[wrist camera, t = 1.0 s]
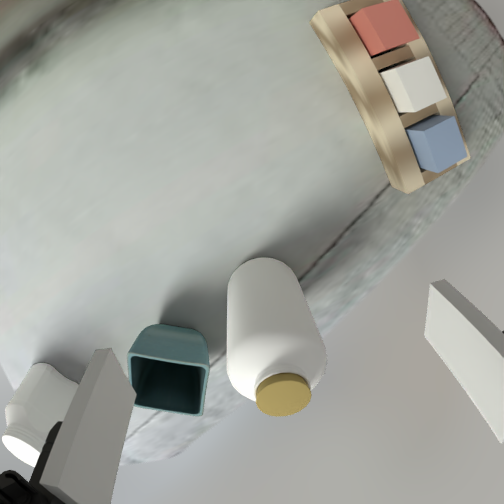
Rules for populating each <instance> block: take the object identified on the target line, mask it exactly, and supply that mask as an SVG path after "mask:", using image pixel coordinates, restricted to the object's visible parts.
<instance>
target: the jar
mask: <svg viewBox="0 0 504 504" xmlns="http://www.w3.org/2000/svg"><path fill="white" fill-rule="evenodd" d="M78 386H79V384H77V383H76V382H73V381H71V380H69V379H68V378H66V377H64V376H63V375H62V374H60V373H59V372H58V371H57V370H56V369H55V368H54V367H52V366H51V365H50V364H47V363H37V364H34V365H33V366H31V368H30V369H29V371H28V372H27V375H26V376H25V378H24V380H23V381H22V383H21V384H20V386H19V388H18V389H17V391H16V393H15V394H14V396H13V397H12V399H11V401H10V402H9V403H8V405H7V406H6V409H5V415H6V421H7V429H6V431H5V432H4V434H3V436H2V440H3V443H4V444H5V446H6V447H7V448H8V449H9V450H10V451H11V452H12V453H13V454H14V455H15V456H16V457H18V458H19V459H20V460H22V461H24V462H25V463H27V464H29V465H31V466H33V467H35V465H36V463H37V460H38V458H39V455H40V453H41V452H42V448H43V445H44V444H45V443H46V442H45V441H46V438H47V436H48V434H49V431H50V430H51V429H52V427H53V426H54V425H55V424H56V423H57V422H58V421H63V420H64V418H65V415H66V413H67V411H68V409H69V406H70V404H71V402H72V399H73V397H74V395H75V393H76V391H77V388H78Z"/></svg>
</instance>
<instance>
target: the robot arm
mask: <svg viewBox="0 0 504 504" xmlns="http://www.w3.org/2000/svg"><path fill="white" fill-rule="evenodd" d="M424 337H425V338H426V339H427V340H428V342H429V343H430V344H431V345H432V347H433V348H434V350H435V351H436V352H437V353H438V355H439V356H440V357H441V359H442V360H443V361H444V363H445V364H446V365H447V367H448V368H449V369H450V371H451V372H452V373H453V375H454V376H455V377H456V379H457V380H458V381H459V383H460V384H461V386H462V387H463V389H464V390H465V391H466V393H467V394H468V396H469V397H470V398H471V400H472V401H473V403H474V404H475V406H476V407H477V408H478V410H479V411H480V413H481V414H482V416H483V417H484V419H485V420H486V422H487V423H488V425H489V426H490V428H491V429H492V431H493V432H494V434H495V435H496V437H497V439H498V440H499V442H500V443H501V444H502V443H503V442H504V331H502V332H501V331H500V330H499V329H498V328H497V327H496V326H495V325H494V324H493V323H492V322H491V321H490V320H489V319H488V318H487V317H486V316H485V315H484V314H483V313H482V312H481V311H479V310H478V309H477V308H476V307H475V306H474V305H473V304H472V303H471V302H470V301H469V300H468V299H466V298H465V297H464V296H463V295H462V294H461V293H460V292H459V291H457V290H456V289H455V288H454V287H453V286H452V285H451V284H450V283H448V282H447V281H446V280H445V279H443V280H440V281H436V282H433V283H431V284H430V289H429V300H428V309H427V318H426V327H425V333H424ZM136 395H137V394H136V392H135V391H134V389H133V387H132V385H131V384H130V382H129V380H128V378H127V377H126V375H125V373H124V371H123V370H122V368H121V366H120V364H119V362H118V360H117V358H116V357H115V355H114V353H113V351H112V349H111V348H107V349H98V350H95V352H94V355H93V357H92V359H91V361H90V363H89V365H88V367H87V369H86V371H85V373H84V375H83V377H82V380H81V382H80V384H79V386H78V388H77V391H76V393H75V395H74V397H73V399H72V402H71V404H70V406H69V409H68V411H67V413H66V415H65V418H64V420H63V421H58V422H57V423H56V424H55V425H54V426H53V427H52V429H51V430H50V431H49V434H48V436H47V438H46V441H45V442H46V443H45V444H44V445H43V448H42V452H41V453H40V455H39V458H38V460H37V463H36V465H35V468H34V471H33V473H32V476H31V479H30V481H29V482H28V481H26V480H25V479H24V478H23V477H22V476H21V475H20V474H18V473H17V472H16V471H12V470H8V471H5V472H3V473H2V474H0V504H111V499H112V494H113V489H114V484H115V480H116V475H117V471H118V466H119V462H120V458H121V453H122V449H123V445H124V441H125V437H126V433H127V429H128V425H129V421H130V417H131V413H132V410H133V406H134V402H135V399H136Z"/></svg>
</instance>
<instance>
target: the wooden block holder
mask: <svg viewBox="0 0 504 504" xmlns="http://www.w3.org/2000/svg"><path fill="white" fill-rule="evenodd" d="M387 1H391V0H350V1H347V2H344V3H340V4H337V5H334V6H331V7H328V8H325V9H322V10H319V11H318V12H317V13H316V14H315V15H314V17H313V18H312V19H311V21H310V22H309V23H310V25H311V26H312V28H313V29H314V31H315V33H316V34H317V36H318V37H319V39H320V41H321V42H322V44H323V46H324V47H325V49H326V51H327V52H328V54H329V56H330V58H331V59H332V61H333V63H334V65H335V66H336V68H337V70H338V72H339V74H340V76H341V77H342V79H343V81H344V83H345V85H346V87H347V89H348V91H349V92H350V94H351V96H352V98H353V100H354V102H355V104H356V106H357V108H358V110H359V112H360V114H361V117H362V119H363V121H364V123H365V125H366V127H367V129H368V131H369V134H370V136H371V138H372V140H373V143H374V145H375V147H376V149H377V152H378V154H379V156H380V159H381V161H382V164H383V166H384V168H385V171H386V173H387V176H388V178H389V181H390V183H391V186H392V187H393V188H395V189H398V190H400V191H402V192H404V193H407V194H410V193H411V192H413V191H415V190H417V189H418V188H420V187H422V186H424V185H425V184H427V183H429V182H431V181H432V180H434V179H436V178H438V177H439V176H441V175H443V174H444V173H446V172H448V171H450V170H451V169H453V168H455V167H456V166H458V165H460V164H462V163H463V162H465V161H467V160H468V159H470V154H469V151H468V148H467V144H466V141H465V138H464V135H463V132H462V129H461V126H460V123H459V120H458V117H457V114H456V112H455V109H454V106H453V104H452V101H451V98H450V96H449V93H448V91H447V88H446V86H445V84H444V81H443V79H442V77H441V74H440V72H439V70H438V68H437V65H436V63H435V61H434V59H433V57H432V55H431V53H430V51H429V49H428V47H427V45H426V43H425V41H424V39H423V37H422V35H421V33H420V31H419V29H418V27H417V26H416V24H415V22H414V20H413V18H412V17H411V15H410V13H409V11H408V10H407V8H406V6H405V5H404V3H403V1H402V0H399V2H400V4H401V5H402V7H403V9H404V10H405V12H406V14H407V15H408V17H409V19H410V21H411V22H412V24H413V26H414V28H415V30H416V32H417V33H418V35H419V37H420V38H419V39H417V40H414V41H411V42H409V43H406V44H403V45H401V46H398V47H396V48H393V49H391V51H392V52H389V53H386V54H383V55H381V56H378V57H375V58H373V59H371V58H370V56H369V54H368V52H367V50H366V49H365V47H364V45H363V43H362V42H361V40H360V38H359V36H358V35H357V33H356V31H355V30H354V28H353V26H352V25H351V23H350V21H349V20H348V19H349V18H351V17H352V16H353V15H354V14H356V13H357V12H358V11H359V10H361V9H362V8H365V7H369V6H372V5H376V4H379V3H383V2H387ZM427 56H429V58H430V60H431V62H432V64H433V66H434V68H435V71H436V73H437V75H438V77H439V80H440V82H441V84H442V87H443V89H444V91H445V94H446V96H447V98H445V99H443V100H441V101H439V102H436V103H434V104H432V105H430V106H428V107H426V108H423V109H421V110H419V111H417V112H401V113H397V111H396V109H395V106H394V104H393V102H392V100H391V98H390V95H389V93H388V91H387V89H386V87H385V85H384V83H383V81H382V79H381V77H380V75H379V73H378V71H377V70H380V69H382V68H385V67H387V66H390V65H393V64H395V63H398V64H399V65H400V64H403V63H405V62H409V61H412V60H416V59H420V58H423V57H427ZM431 115H442V116H455V119H456V122H457V125H458V128H459V131H460V134H461V137H462V140H463V143H464V146H465V150H466V153H467V157H466V158H464V159H462V160H460V161H459V162H457V163H455V164H454V165H452V166H450V167H448V168H447V169H445V170H443V171H441V172H440V173H436V172H432V171H429V170H425V169H422V168H419V166H418V163H417V160H416V158H415V155H414V152H413V150H412V147H411V144H410V142H409V139H408V137H407V134H406V132H405V129H404V128H406V127H408V126H410V125H412V124H414V123H416V122H418V121H420V120H422V119H424V118H426V117H428V116H431Z"/></svg>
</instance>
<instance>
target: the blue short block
mask: <svg viewBox="0 0 504 504" xmlns="http://www.w3.org/2000/svg"><path fill="white" fill-rule="evenodd" d="M404 129H405V132H406V134H407V137H408V139H409V142H410V144H411V147H412V150H413V152H414V155H415V158H416V160H417V163H418V166H419V168H422V169H425V170H429V171H432V172H436V173H440V172H441V171H443V170H445V169H447V168H448V167H450V166H452V165H454V164H455V163H457V162H459V161H460V160H462V159H464V158H466V157H467V153H466V150H465V146H464V143H463V140H462V137H461V134H460V131H459V128H458V125H457V122H456V119H455V116H442V115H431V116H428V117H426V118H424V119H422V120H420V121H418V122H416V123H414V124H412V125H410V126H408V127H406V128H404Z"/></svg>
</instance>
